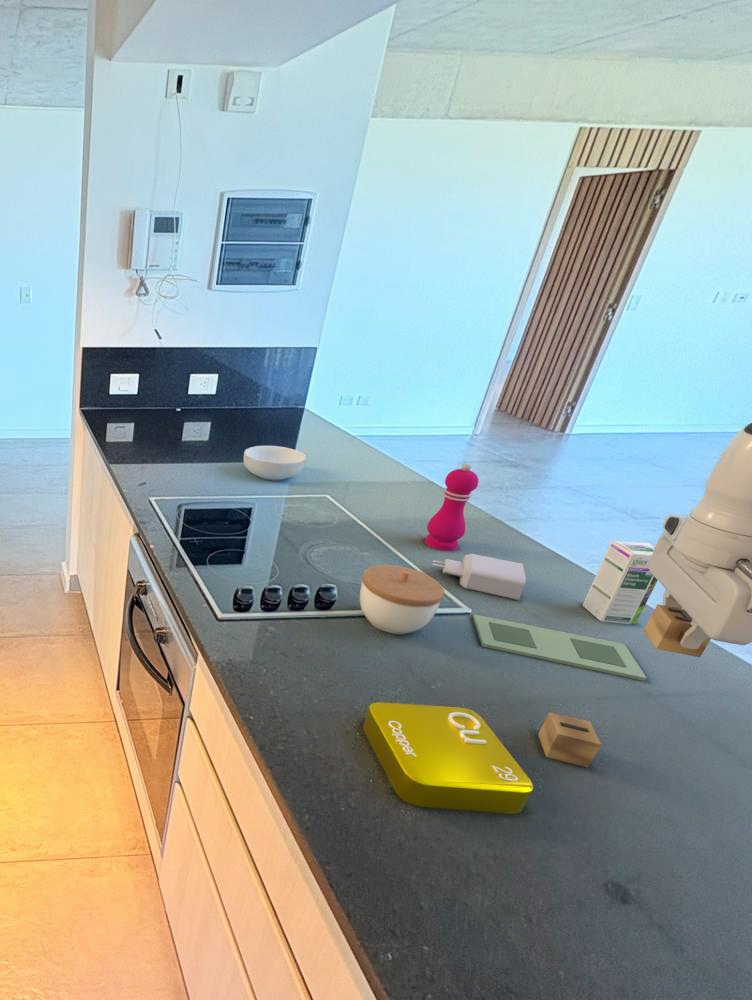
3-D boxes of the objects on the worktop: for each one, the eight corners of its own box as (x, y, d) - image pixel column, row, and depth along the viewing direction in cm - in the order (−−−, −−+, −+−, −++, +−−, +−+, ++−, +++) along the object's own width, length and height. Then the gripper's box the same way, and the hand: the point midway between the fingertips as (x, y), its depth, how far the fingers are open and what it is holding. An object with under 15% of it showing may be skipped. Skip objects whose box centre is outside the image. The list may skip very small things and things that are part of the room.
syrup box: (600, 623, 113) (634, 553, 106) (580, 606, 118) (612, 538, 111) (635, 626, 112) (672, 556, 105) (613, 608, 117) (647, 541, 111)
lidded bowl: (445, 643, 108) (465, 589, 103) (376, 646, 107) (392, 592, 102) (402, 604, 119) (417, 554, 114) (339, 606, 118) (352, 556, 113)
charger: (430, 563, 133) (514, 582, 126) (428, 582, 126) (518, 602, 119) (436, 544, 131) (522, 561, 124) (435, 562, 124) (526, 581, 117)
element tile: (357, 722, 90) (365, 697, 88) (465, 729, 89) (476, 704, 87) (401, 807, 77) (412, 780, 75) (529, 817, 76) (543, 790, 73)
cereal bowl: (297, 469, 186) (301, 446, 183) (306, 489, 172) (311, 465, 169) (239, 465, 190) (242, 443, 187) (242, 484, 175) (246, 460, 172)
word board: (622, 648, 106) (624, 643, 106) (644, 683, 98) (647, 677, 97) (472, 618, 114) (474, 613, 114) (481, 648, 106) (483, 642, 106)
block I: (576, 746, 86) (590, 720, 84) (587, 769, 82) (601, 743, 80) (536, 736, 88) (549, 710, 86) (545, 758, 84) (558, 732, 82)
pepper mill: (427, 536, 145) (453, 455, 136) (462, 546, 141) (491, 463, 132) (417, 546, 141) (443, 463, 132) (453, 556, 136) (483, 471, 127)
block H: (684, 638, 86) (700, 610, 84) (700, 657, 83) (717, 628, 80) (642, 631, 88) (657, 603, 86) (656, 649, 84) (672, 620, 82)
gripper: (811, 588, 69) (747, 685, 75) (719, 518, 85) (673, 602, 92) (736, 576, 71) (680, 671, 77) (661, 510, 88) (620, 593, 94)
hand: (676, 633), depth 85 cm, fingers closed on block H, 4 cm apart
